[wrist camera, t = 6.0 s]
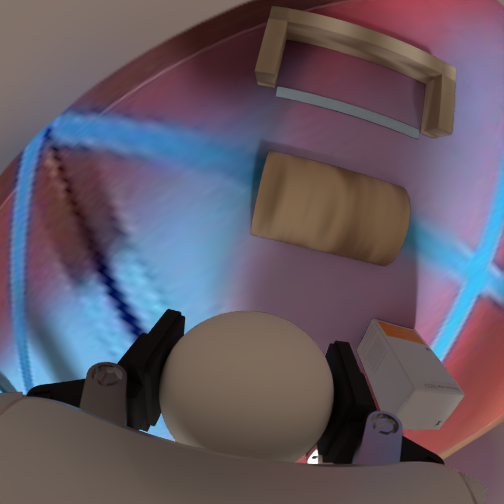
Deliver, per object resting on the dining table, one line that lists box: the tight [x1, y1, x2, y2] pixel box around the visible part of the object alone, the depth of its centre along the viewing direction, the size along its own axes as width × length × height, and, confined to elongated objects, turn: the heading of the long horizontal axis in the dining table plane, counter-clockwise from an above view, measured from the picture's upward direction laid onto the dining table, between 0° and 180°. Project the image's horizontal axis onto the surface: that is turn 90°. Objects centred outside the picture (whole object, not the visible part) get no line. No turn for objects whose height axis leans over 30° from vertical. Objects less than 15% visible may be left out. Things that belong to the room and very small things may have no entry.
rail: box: [255, 6, 456, 138], centre depth 20 cm, size 18×7×4 cm, turn 78°
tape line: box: [276, 86, 419, 139], centre depth 23 cm, size 14×1×1 cm, turn 78°
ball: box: [159, 311, 334, 462], centre depth 9 cm, size 6×6×6 cm
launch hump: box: [251, 150, 410, 266], centre depth 26 cm, size 13×8×8 cm, turn 78°
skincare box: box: [357, 318, 465, 430], centre depth 22 cm, size 6×4×12 cm
